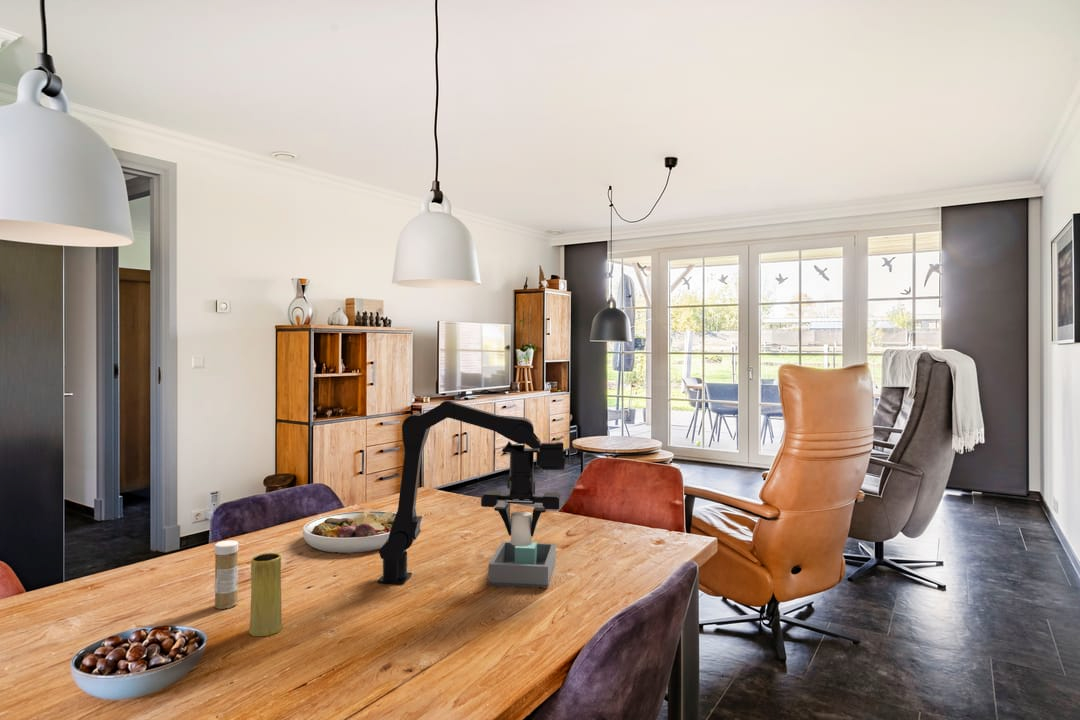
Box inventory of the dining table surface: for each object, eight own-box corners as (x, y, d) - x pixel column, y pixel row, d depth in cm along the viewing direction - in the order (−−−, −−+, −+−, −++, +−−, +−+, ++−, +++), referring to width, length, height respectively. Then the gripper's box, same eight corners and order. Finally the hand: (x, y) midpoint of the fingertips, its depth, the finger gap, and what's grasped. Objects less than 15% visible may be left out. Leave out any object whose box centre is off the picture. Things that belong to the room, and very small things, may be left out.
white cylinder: (530, 546, 146) (530, 517, 146) (509, 545, 147) (509, 516, 147) (532, 540, 151) (533, 511, 151) (512, 539, 152) (512, 511, 152)
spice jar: (219, 601, 134) (219, 539, 134) (241, 601, 135) (241, 539, 135) (210, 610, 130) (210, 546, 130) (233, 609, 130) (233, 545, 130)
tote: (548, 588, 143) (548, 566, 143) (488, 585, 145) (488, 564, 145) (555, 562, 161) (555, 543, 161) (502, 560, 163) (502, 541, 163)
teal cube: (536, 562, 159) (537, 542, 159) (534, 568, 154) (534, 548, 154) (517, 561, 160) (517, 541, 160) (514, 567, 155) (514, 547, 155)
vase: (245, 639, 117) (246, 563, 117) (251, 625, 123) (252, 553, 123) (280, 635, 118) (280, 560, 118) (284, 622, 124) (285, 551, 124)
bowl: (297, 533, 187) (297, 507, 187) (396, 522, 201) (396, 497, 201) (309, 563, 161) (309, 532, 161) (422, 547, 174) (422, 519, 174)
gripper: (563, 465, 156) (562, 528, 156) (490, 463, 158) (489, 525, 158) (559, 474, 145) (558, 541, 145) (480, 471, 147) (480, 537, 147)
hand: (521, 535), depth 149 cm, fingers closed on white cylinder, 5 cm apart
